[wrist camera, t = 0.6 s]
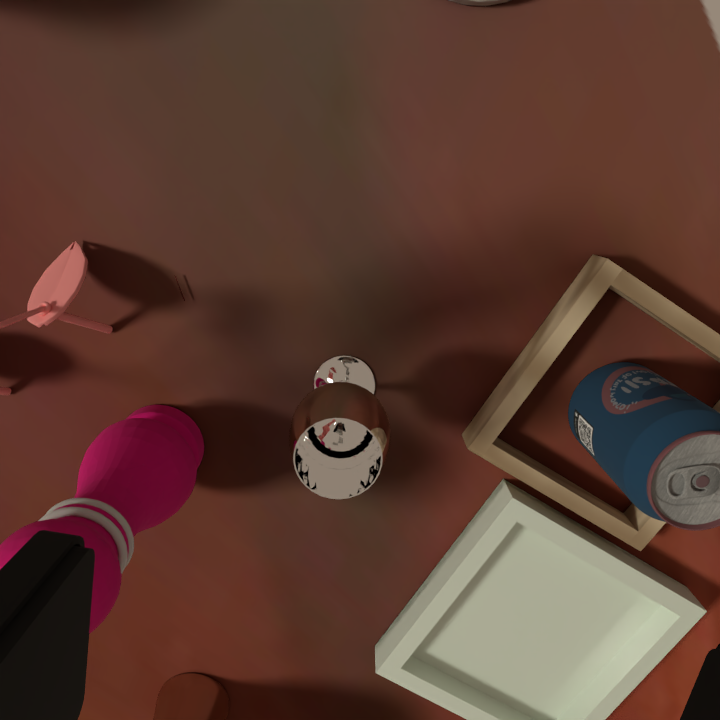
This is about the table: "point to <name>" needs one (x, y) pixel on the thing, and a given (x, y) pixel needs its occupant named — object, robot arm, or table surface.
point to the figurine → (58, 295)
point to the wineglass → (340, 430)
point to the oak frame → (536, 362)
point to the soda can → (651, 442)
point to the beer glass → (191, 699)
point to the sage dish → (534, 619)
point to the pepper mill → (123, 494)
